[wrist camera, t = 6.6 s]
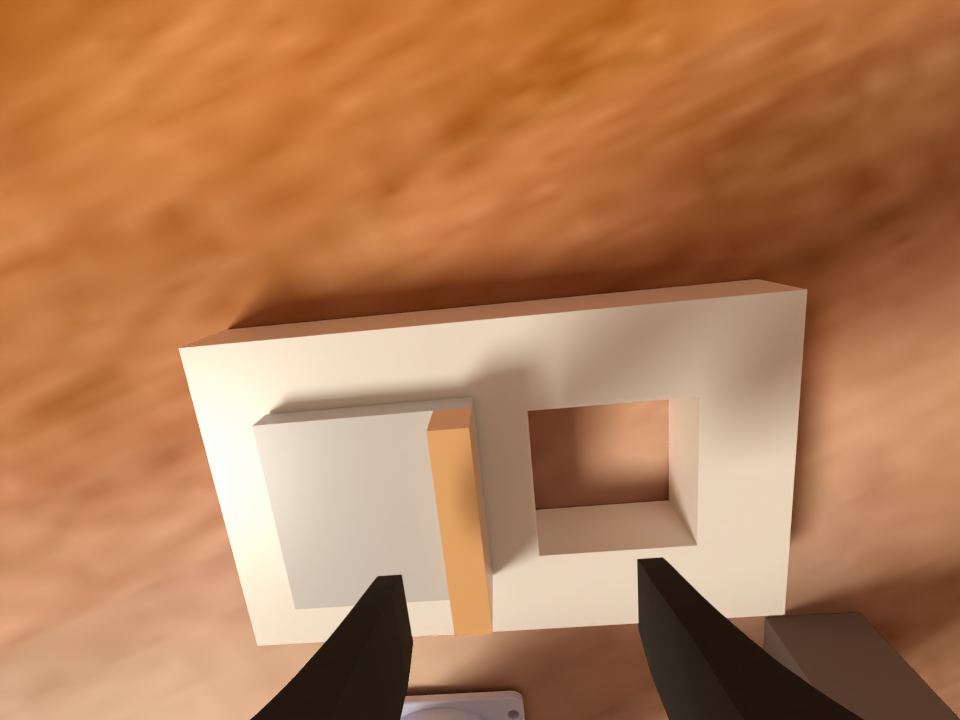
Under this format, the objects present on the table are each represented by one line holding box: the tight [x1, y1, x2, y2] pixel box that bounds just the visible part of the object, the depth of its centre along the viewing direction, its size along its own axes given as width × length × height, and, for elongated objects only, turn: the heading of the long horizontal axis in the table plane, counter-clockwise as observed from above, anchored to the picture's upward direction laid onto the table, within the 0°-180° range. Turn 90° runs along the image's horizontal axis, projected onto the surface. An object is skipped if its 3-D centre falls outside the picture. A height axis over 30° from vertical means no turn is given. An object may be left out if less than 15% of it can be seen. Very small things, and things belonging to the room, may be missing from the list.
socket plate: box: [179, 279, 807, 646], centre depth 19 cm, size 12×20×3 cm, turn 96°
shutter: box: [252, 397, 493, 636], centre depth 16 cm, size 7×7×3 cm
